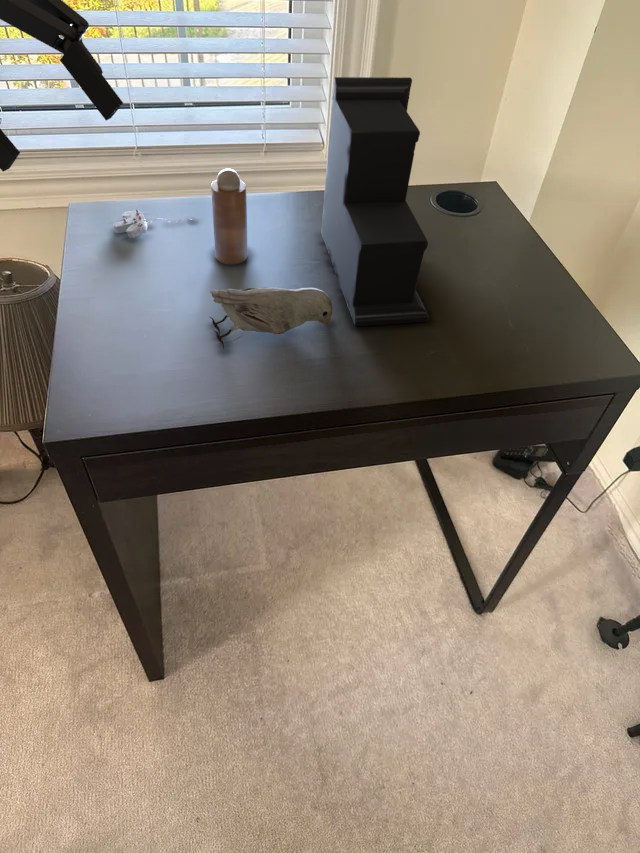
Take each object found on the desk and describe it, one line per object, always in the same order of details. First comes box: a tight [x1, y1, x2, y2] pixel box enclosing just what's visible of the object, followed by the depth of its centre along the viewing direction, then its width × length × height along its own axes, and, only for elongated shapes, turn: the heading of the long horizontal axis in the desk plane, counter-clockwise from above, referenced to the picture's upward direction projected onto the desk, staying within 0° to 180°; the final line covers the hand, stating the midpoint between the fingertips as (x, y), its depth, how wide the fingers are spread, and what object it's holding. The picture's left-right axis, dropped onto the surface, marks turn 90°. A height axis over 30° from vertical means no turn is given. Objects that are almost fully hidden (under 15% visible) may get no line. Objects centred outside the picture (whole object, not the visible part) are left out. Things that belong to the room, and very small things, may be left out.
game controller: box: [112, 209, 193, 239], centre depth 99 cm, size 6×12×3 cm, turn 129°
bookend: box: [321, 76, 430, 327], centre depth 86 cm, size 23×11×24 cm, turn 11°
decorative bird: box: [209, 286, 333, 350], centre depth 82 cm, size 5×16×8 cm, turn 107°
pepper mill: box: [210, 168, 249, 265], centre depth 91 cm, size 5×5×13 cm
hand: (67, 135), depth 60 cm, fingers open, 13 cm apart
